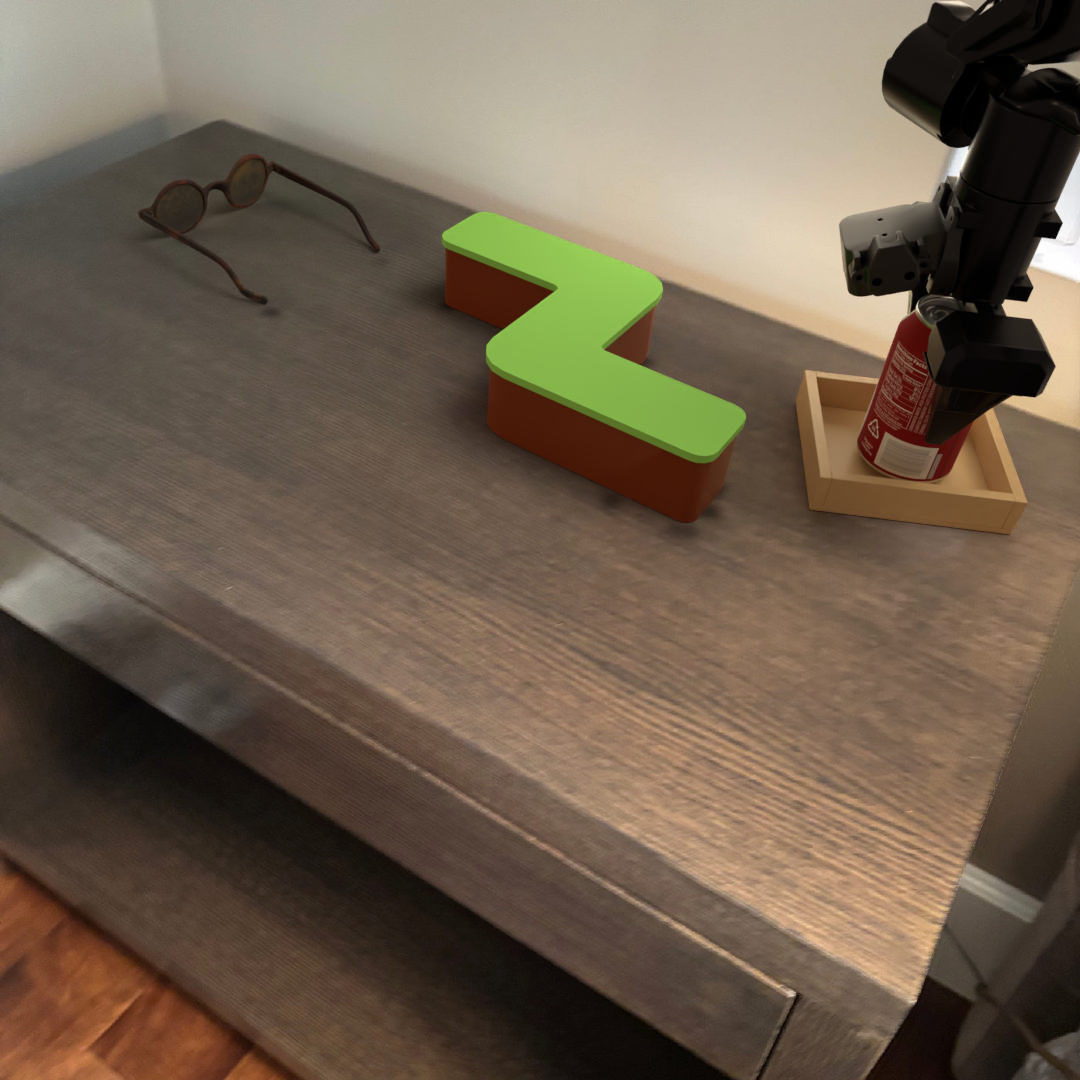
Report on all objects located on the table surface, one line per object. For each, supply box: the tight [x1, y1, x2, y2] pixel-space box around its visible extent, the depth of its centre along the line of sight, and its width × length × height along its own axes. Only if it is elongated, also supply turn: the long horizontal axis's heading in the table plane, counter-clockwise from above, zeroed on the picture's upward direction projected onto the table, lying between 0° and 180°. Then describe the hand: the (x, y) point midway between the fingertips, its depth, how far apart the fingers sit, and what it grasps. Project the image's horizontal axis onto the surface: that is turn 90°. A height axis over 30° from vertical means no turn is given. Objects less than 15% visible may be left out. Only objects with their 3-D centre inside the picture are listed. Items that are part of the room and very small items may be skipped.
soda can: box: [857, 294, 974, 483], centre depth 69 cm, size 7×7×12 cm
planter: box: [441, 211, 747, 523], centre depth 76 cm, size 30×18×6 cm, turn 57°
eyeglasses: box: [137, 153, 381, 305], centre depth 88 cm, size 15×15×5 cm
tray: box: [795, 369, 1028, 535], centre depth 73 cm, size 14×13×3 cm
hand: (921, 401), depth 70 cm, fingers open, 9 cm apart
